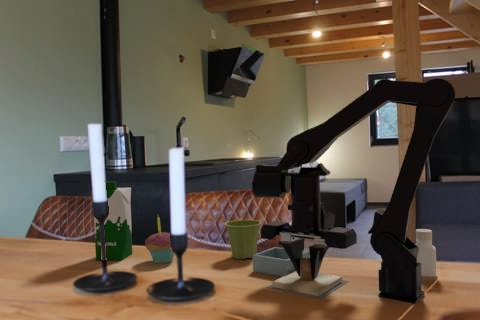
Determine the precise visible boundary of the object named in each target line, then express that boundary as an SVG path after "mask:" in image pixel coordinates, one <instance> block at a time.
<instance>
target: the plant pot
mask: <svg viewBox="0 0 480 320" xmlns="http://www.w3.org/2000/svg"><path fill="white" fill-rule="evenodd" d="M261 225H262V221H261V220H256V219H236V220H229V221H225V223H224V226H225V227H226V231H227V232H228V238H229V244H230V250H231V255H232V257H233V258H234V259H236V260H237V259H238V260H245V259H253V255H254V254H257V253H258V241H259V232H260V230H261Z"/></svg>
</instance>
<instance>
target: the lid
mask: <svg viewBox="0 0 480 320" xmlns="http://www.w3.org/2000/svg"><path fill="white" fill-rule="evenodd" d="M342 280H343V276H340V275H332V274H328V273H321V272H319V273H318V276H317V278H315V279H313V278H312V273H311V264H310V256H309V257H304V258H300V276H298V274H297V272H296V271H294V272H292V273H290V274H288V275H285V276H283V277H280V278H277V279H275V280H273V281H272V284H273V287H276V288H281V289H286V290H291V291H296V292H300V293H305V294H310V295H315V296H320V295H322V294H323V293H325V292H326V291H328V290H330V289H331V288H333V287H334V286H336V285H338V284H339V283H341V282H342Z"/></svg>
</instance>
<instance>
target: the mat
mask: <svg viewBox="0 0 480 320" xmlns="http://www.w3.org/2000/svg"><path fill="white" fill-rule="evenodd" d="M348 283H350V280H349V281H348V280H343V279H342V282H341V283H339V284H338V285H336V286H334V287H333V288H331V289H330V290H328V291H326V292H325V293H323V294H322V295H320V296H315V295H310V294H305V293H300V292H296V291H291V290H286V289H281V288H276V287H273V283H272V284H270V285H267V286H265V288H266V289H271V290H275V291H281V292H285V293H289V294H293V295H299V296H303V297H307V298H311V299H318V300H323V299H324V298H326V297H328V296H329V295H331V294H332V293H334V292H335V291H337V290H338V289H340V288H342V287H343V286H345V285H346V284H348Z"/></svg>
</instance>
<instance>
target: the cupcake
mask: <svg viewBox="0 0 480 320" xmlns="http://www.w3.org/2000/svg"><path fill="white" fill-rule="evenodd" d="M156 221H157V231H158V232H157V233H153V234H151V235H149V236H148V237H147V238H146V239H145V243H144V244H145V245H144V247H145V249H146V250H147V251H149V254H150V256H151V259H152V261H153V263H154V264H155V263H156V264H168V263H171V262H173V261H174V256H175V253H174V254H173V252H172V251H171V249H170V234H171V232H167V231H165V232H164V231H163V232H162V227H161V219H160V217H159V214H157V218H156Z"/></svg>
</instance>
